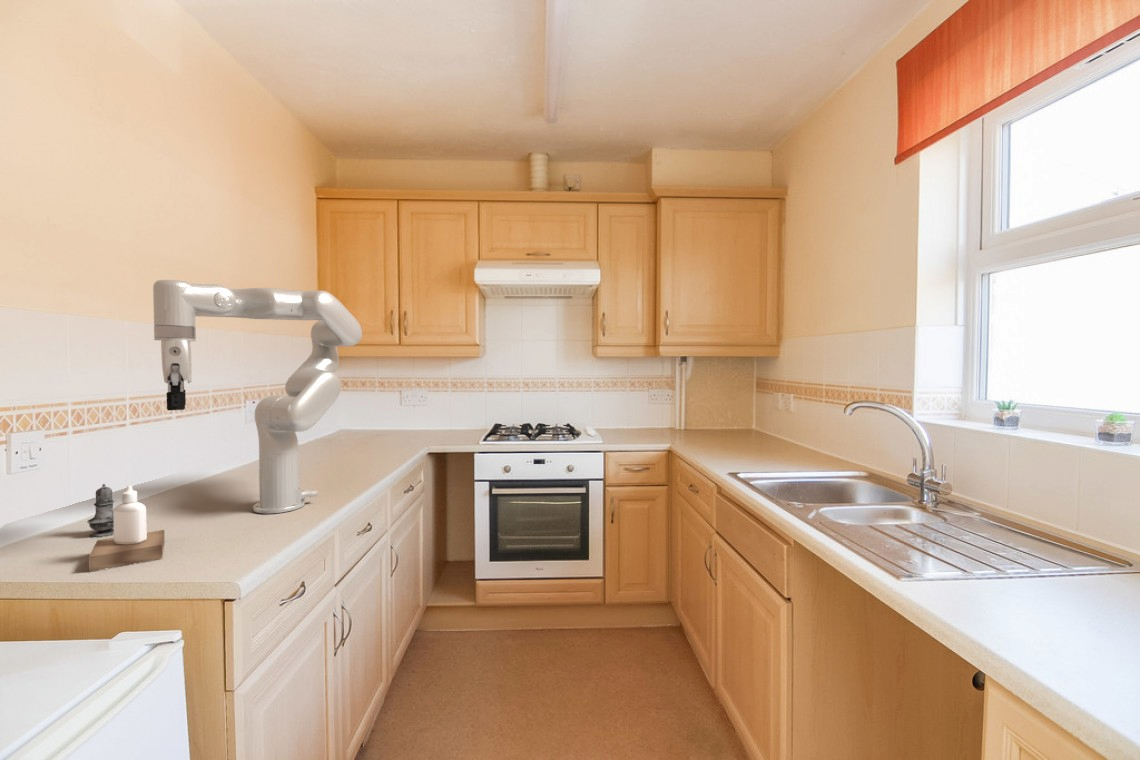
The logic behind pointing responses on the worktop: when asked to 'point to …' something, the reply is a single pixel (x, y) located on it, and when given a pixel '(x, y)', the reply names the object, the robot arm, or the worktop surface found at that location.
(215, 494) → the worktop surface
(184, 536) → the worktop surface
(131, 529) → the eye dropper bottle
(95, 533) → the salt shaker
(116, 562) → the walnut stand
